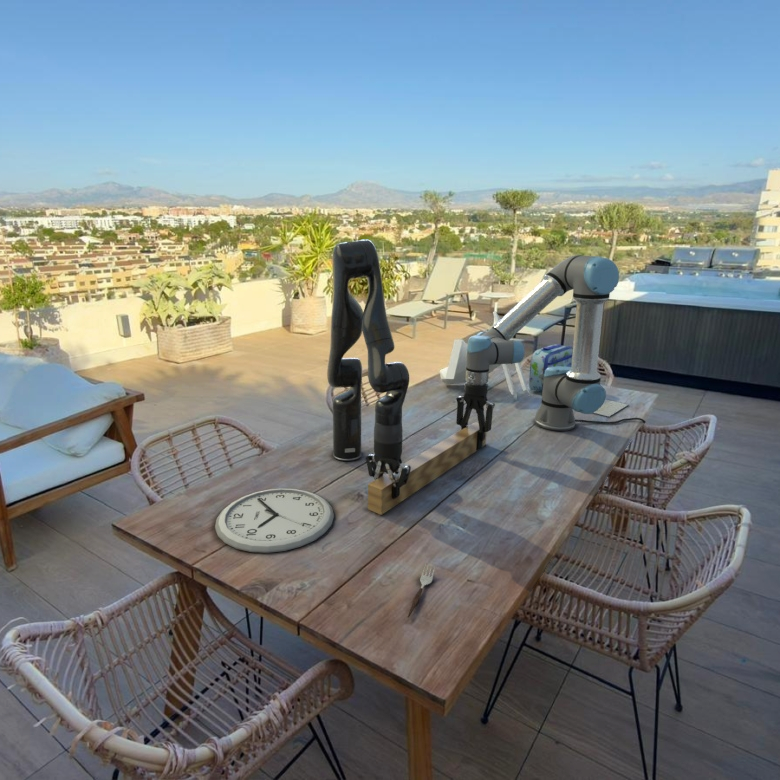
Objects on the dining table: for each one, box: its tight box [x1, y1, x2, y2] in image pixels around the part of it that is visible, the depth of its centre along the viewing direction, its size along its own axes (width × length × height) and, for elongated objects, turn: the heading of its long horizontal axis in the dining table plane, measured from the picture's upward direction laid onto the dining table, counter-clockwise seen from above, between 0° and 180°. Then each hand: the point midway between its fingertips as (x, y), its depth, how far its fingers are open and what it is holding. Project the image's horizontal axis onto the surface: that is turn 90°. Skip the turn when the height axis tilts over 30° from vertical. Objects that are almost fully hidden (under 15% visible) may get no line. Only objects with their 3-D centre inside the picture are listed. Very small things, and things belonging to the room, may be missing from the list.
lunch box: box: [528, 344, 573, 393], centre depth 247 cm, size 26×11×21 cm, turn 134°
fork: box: [407, 563, 436, 618], centre depth 108 cm, size 3×16×2 cm, turn 160°
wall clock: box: [214, 488, 335, 554], centre depth 135 cm, size 30×2×30 cm
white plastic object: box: [438, 310, 531, 400], centre depth 245 cm, size 37×45×31 cm
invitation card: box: [592, 398, 629, 418], centre depth 226 cm, size 21×1×15 cm
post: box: [367, 421, 487, 516], centre depth 162 cm, size 60×5×8 cm, turn 143°
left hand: (387, 494), depth 143 cm, fingers closed on post, 4 cm apart
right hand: (472, 446), depth 181 cm, fingers closed on post, 5 cm apart
